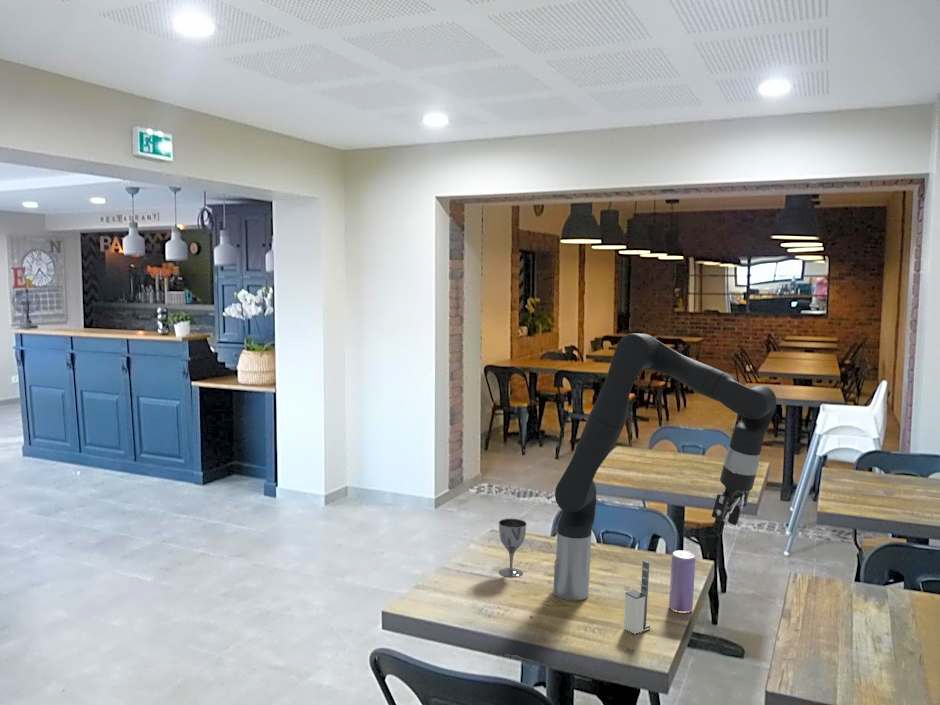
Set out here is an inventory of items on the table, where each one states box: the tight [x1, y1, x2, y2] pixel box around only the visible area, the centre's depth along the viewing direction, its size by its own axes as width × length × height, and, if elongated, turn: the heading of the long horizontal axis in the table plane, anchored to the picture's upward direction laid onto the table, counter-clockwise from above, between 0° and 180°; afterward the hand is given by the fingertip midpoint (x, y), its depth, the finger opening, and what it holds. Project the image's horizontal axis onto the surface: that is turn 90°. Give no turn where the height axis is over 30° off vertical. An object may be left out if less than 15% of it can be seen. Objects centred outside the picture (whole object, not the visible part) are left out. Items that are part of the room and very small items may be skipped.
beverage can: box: [668, 550, 696, 611], centre depth 198 cm, size 6×6×15 cm
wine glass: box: [498, 517, 527, 579], centre depth 219 cm, size 8×8×15 cm
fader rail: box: [640, 560, 651, 630], centre depth 186 cm, size 2×3×17 cm, turn 34°
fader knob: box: [623, 589, 645, 635], centre depth 185 cm, size 3×4×9 cm
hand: (724, 528), depth 183 cm, fingers open, 8 cm apart
